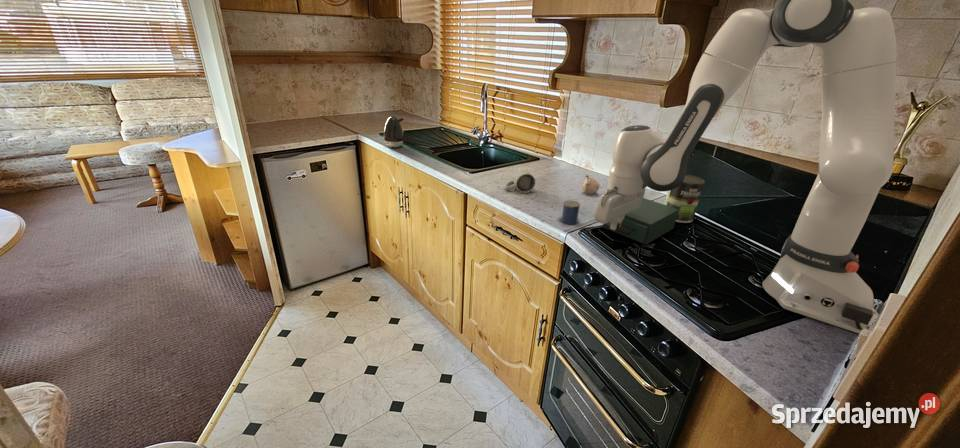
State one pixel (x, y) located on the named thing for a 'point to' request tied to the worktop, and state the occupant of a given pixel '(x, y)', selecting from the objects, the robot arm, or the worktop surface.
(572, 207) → the spice tin
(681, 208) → the coffee can
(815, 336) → the worktop surface
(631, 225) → the drawer
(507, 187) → the ceramic mug
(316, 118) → the worktop surface
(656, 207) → the cabinet
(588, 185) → the garlic bulb
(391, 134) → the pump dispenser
